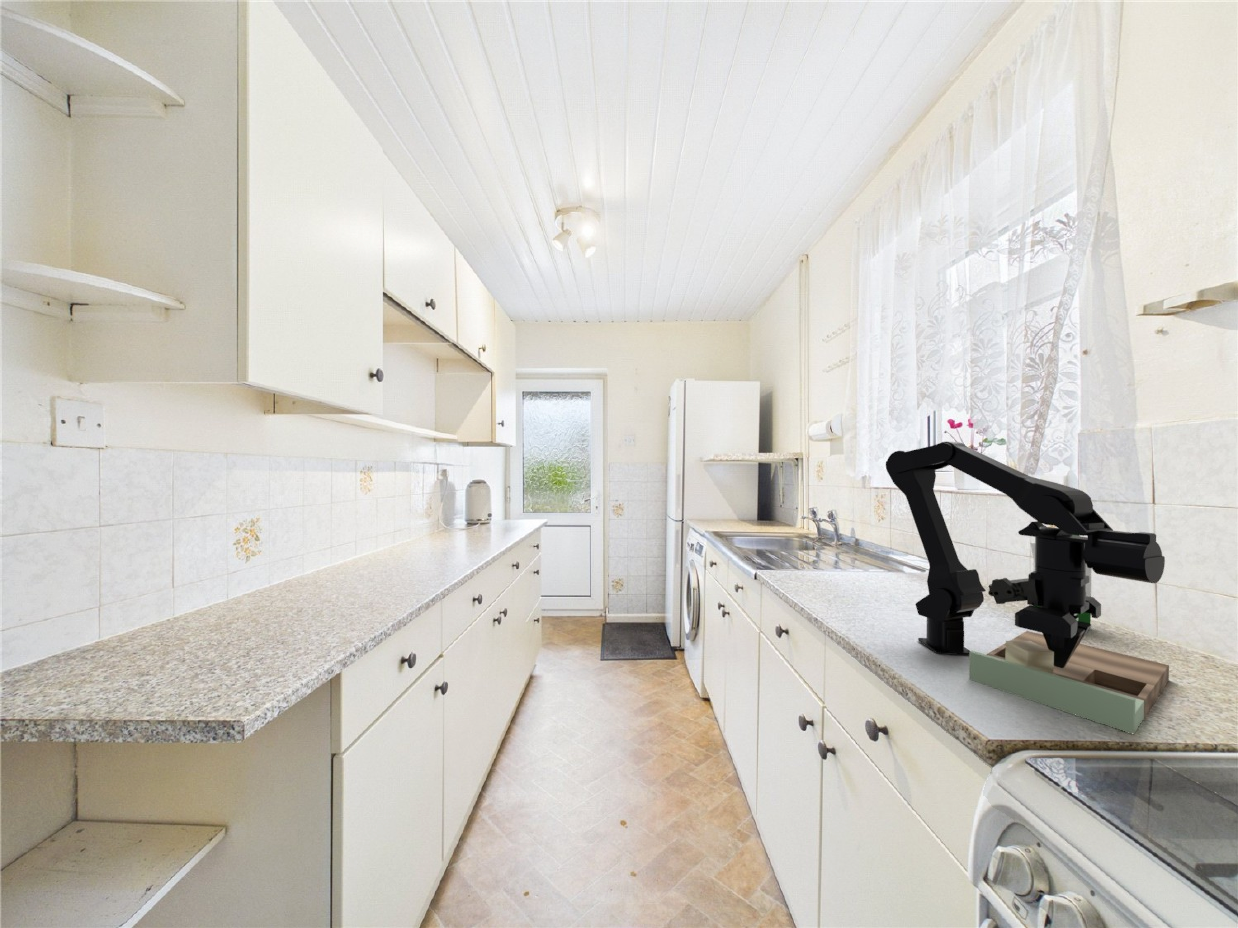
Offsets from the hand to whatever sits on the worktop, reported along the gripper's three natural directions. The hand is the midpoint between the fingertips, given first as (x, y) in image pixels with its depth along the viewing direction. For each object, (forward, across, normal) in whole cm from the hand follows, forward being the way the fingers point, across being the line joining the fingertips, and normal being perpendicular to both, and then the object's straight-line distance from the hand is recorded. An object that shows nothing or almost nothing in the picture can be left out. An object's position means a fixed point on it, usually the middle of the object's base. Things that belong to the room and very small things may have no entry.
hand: (1059, 666), depth 71 cm
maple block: (+1, +3, -3) cm, 4 cm away
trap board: (+4, -9, 0) cm, 10 cm away
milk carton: (+4, -41, -9) cm, 42 cm away
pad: (+4, +4, 0) cm, 5 cm away
